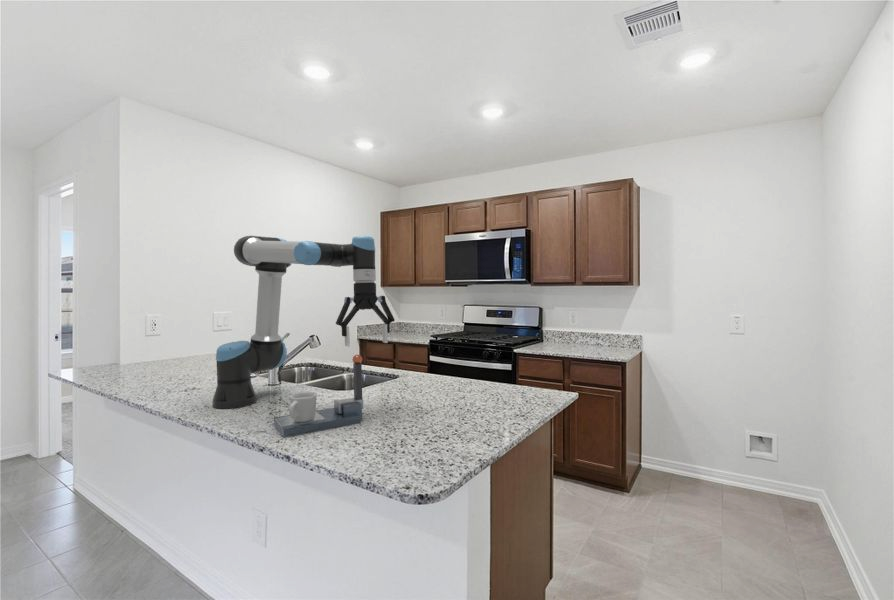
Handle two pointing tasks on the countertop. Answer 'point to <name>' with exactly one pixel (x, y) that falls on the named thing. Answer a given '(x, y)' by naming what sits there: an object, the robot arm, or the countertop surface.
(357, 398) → the lever
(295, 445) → the countertop surface
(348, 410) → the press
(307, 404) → the cup
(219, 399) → the robot arm
